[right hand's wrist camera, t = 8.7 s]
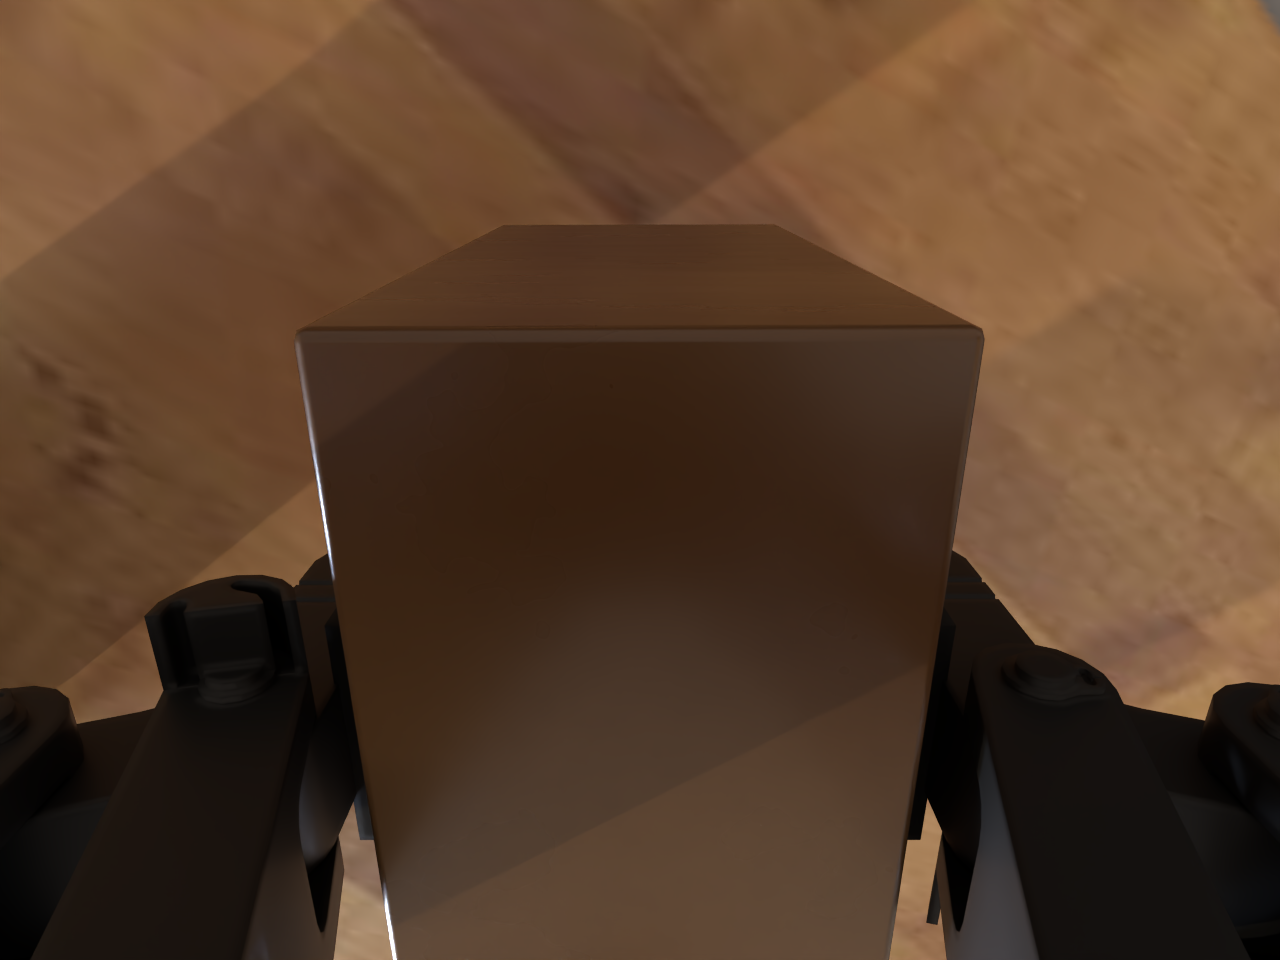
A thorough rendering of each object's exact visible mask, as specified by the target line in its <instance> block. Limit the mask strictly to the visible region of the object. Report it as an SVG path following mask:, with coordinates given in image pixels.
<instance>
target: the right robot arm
mask: <svg viewBox="0 0 1280 960" xmlns="http://www.w3.org/2000/svg"><path fill="white" fill-rule="evenodd" d="M144 617H145V621H146V625H147V629H148V633H149V636H150V640H151V644H152V648H153V652H154V656H155V659H156V663H157V667H158V671H159V675H160V679H161V682H162V686H163V690H164V691H163V693H162V695H161V697H160V699H159V701H158V703H157V705H156V707H155V708H154V709H150V710H146V711H142V712H137V713H132V714H127V715H122V716H117V717H111V718H106V719H101V720H96V721H90V722H85V723H80V724H76V720H75V717H74V714H73V711H72V708H71V705H70V701H69V698H67V697H66V696H65V695H63V694H62V693H61V692H59V691H58V690H57V689H52V688H45V687H38V686H29V687H19V688H9V689H8V688H4V689H0V960H333V959H334V951H335V943H336V934H337V926H338V917H339V909H340V901H341V892H342V884H343V876H344V865H343V859H342V852H341V847H340V841H339V836H338V835H339V833H340V831H341V828H342V826H343V824H344V822H345V819H346V817H347V815H348V812H349V810H350V808H351V806H352V803H353V801H354V806H355V812H356V818H357V824H358V830H359V836H360V840H374V837H373V831H372V824H371V818H370V812H369V806H368V800H367V793H366V787H365V781H364V775H363V768H362V762H361V756H360V750H359V744H358V737H357V731H356V725H355V719H354V712H353V706H352V700H351V694H350V688H349V681H348V675H347V669H346V663H345V656H344V650H343V644H342V638H341V632H340V625H339V619H338V613H337V607H336V600H335V594H334V588H333V582H332V576H331V569H330V563H329V557H328V554H326V555H325V556H323V557H321V558H320V559H318V560H316V561H315V562H314V563H313V565H312V566H311V567H310V568H309V570H308V571H307V572H306V573H305V575H304V576H303V577H302V578H301V580H300V581H299V585H296V586H295V587H292V586H291V585H290V584H288V583H287V582H285V581H284V580H283V579H279V578H274V577H269V576H265V575H236V576H230V577H225V578H220V579H214V580H209V581H205V582H203V583H200V584H197V585H194V586H191V587H188V588H185V589H182V590H180V591H178V592H176V593H175V594H173V595H171V596H169V597H167V598H166V599H164V600H162V601H160V602H158V603H157V604H156V605H155V606H154V607H153V608H152V609H151V610H150V611H149V612H148V613H147V614H146V615H145V616H144ZM927 798H928V800H929V803H930V805H931V807H932V809H933V812H934V814H935V816H936V818H937V821H938V823H939V825H940V827H941V830H942V836H941V841H940V847H939V852H938V858H937V864H936V869H935V875H934V880H933V886H932V891H931V897H930V903H929V909H928V915H927V922H926V923H930V924H936V925H937V924H938V919H939V914H940V909H941V915H942V924H943V932H944V940H945V949H946V957H947V960H1280V685H1270V684H1260V683H1250V682H1246V683H1239V684H1232V685H1226V686H1224V687H1223V688H1222V689H1220V690H1219V691H1218V692H1216V693H1215V694H1213V697H1212V700H1211V704H1210V707H1209V710H1208V713H1207V716H1206V719H1205V721H1204V720H1199V719H1194V718H1188V717H1183V716H1178V715H1173V714H1167V713H1162V712H1157V711H1152V710H1146V709H1141V708H1137V707H1133V706H1129V705H1125V704H1123V702H1122V700H1121V697H1120V695H1119V693H1118V691H1117V690H1116V688H1115V687H1114V686H1113V685H1112V683H1111V682H1110V681H1109V680H1108V679H1107V677H1106V676H1105V675H1104V674H1103V673H1101V672H1100V671H1098V670H1097V669H1095V668H1094V667H1092V666H1091V665H1089V664H1088V663H1086V662H1085V661H1083V660H1081V659H1079V658H1076V657H1074V656H1072V655H1069V654H1067V653H1064V652H1062V651H1059V650H1057V649H1052V648H1047V647H1043V646H1038V645H1035V644H1034V643H1033V641H1032V640H1031V639H1030V638H1029V636H1028V635H1027V634H1026V633H1025V632H1024V630H1023V629H1022V628H1021V627H1020V625H1019V624H1018V623H1017V622H1016V620H1015V619H1014V618H1013V617H1012V615H1011V614H1010V613H1009V612H1008V610H1007V609H1006V608H1005V607H1004V605H1003V604H1002V603H1001V602H1000V600H999V599H995V594H994V593H993V592H992V590H991V589H990V588H989V587H988V585H987V584H986V583H985V582H982V578H981V577H980V576H979V574H978V573H977V572H976V571H975V569H974V568H973V567H972V566H971V564H970V563H969V562H968V561H967V559H966V558H964V557H963V556H961V555H959V554H958V553H956V552H954V551H953V550H952V554H951V560H950V567H949V573H948V580H947V586H946V593H945V599H944V606H943V612H942V619H941V625H940V632H939V638H938V645H937V651H936V658H935V664H934V671H933V677H932V683H931V690H930V696H929V703H928V709H927V716H926V722H925V729H924V735H923V742H922V748H921V755H920V761H919V768H918V774H917V781H916V787H915V794H914V800H913V807H912V813H911V819H910V826H909V832H908V839H907V840H920V839H921V833H922V827H923V821H924V815H925V809H926V804H927Z"/></svg>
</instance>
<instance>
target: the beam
mask: <svg viewBox="0 0 1280 960" xmlns="http://www.w3.org/2000/svg"><path fill="white" fill-rule="evenodd" d="M294 345H295V352H296V358H297V364H298V370H299V376H300V383H301V389H302V395H303V401H304V408H305V414H306V420H307V426H308V432H309V439H310V445H311V451H312V457H313V464H314V470H315V476H316V482H317V488H318V495H319V501H320V507H321V513H322V520H323V526H324V532H325V538H326V544H327V551H328V557H329V563H330V569H331V576H332V582H333V588H334V594H335V600H336V607H337V613H338V619H339V625H340V632H341V638H342V644H343V650H344V656H345V663H346V669H347V675H348V681H349V688H350V694H351V700H352V706H353V712H354V719H355V725H356V731H357V737H358V744H359V750H360V756H361V762H362V768H363V775H364V781H365V787H366V793H367V800H368V806H369V812H370V818H371V824H372V831H373V837H374V843H375V849H376V856H377V862H378V868H379V874H380V880H381V887H382V893H383V899H384V905H385V912H386V918H387V924H388V930H389V936H390V943H391V949H392V955H393V960H889V956H890V949H891V943H892V936H893V930H894V923H895V917H896V910H897V904H898V897H899V891H900V884H901V878H902V871H903V865H904V858H905V852H906V845H907V839H908V832H909V826H910V819H911V813H912V807H913V800H914V794H915V787H916V781H917V774H918V768H919V761H920V755H921V748H922V742H923V735H924V729H925V722H926V716H927V709H928V703H929V696H930V690H931V683H932V677H933V671H934V664H935V658H936V651H937V645H938V638H939V632H940V625H941V619H942V612H943V606H944V599H945V593H946V586H947V580H948V573H949V567H950V560H951V554H952V547H953V541H954V534H955V528H956V522H957V515H958V509H959V502H960V496H961V489H962V483H963V476H964V470H965V463H966V457H967V450H968V444H969V437H970V431H971V424H972V418H973V411H974V405H975V398H976V392H977V386H978V379H979V373H980V366H981V360H982V353H983V347H984V335H983V331H982V329H981V328H979V327H977V326H975V325H973V324H972V323H970V322H968V321H966V320H964V319H962V318H960V317H958V316H956V315H954V314H952V313H950V312H948V311H946V310H944V309H942V308H940V307H938V306H936V305H934V304H932V303H930V302H928V301H926V300H924V299H922V298H920V297H918V296H916V295H914V294H912V293H910V292H908V291H906V290H904V289H902V288H900V287H898V286H896V285H894V284H892V283H890V282H888V281H886V280H884V279H882V278H880V277H878V276H876V275H874V274H872V273H870V272H868V271H866V270H864V269H862V268H860V267H858V266H856V265H854V264H852V263H850V262H848V261H846V260H844V259H842V258H840V257H838V256H836V255H834V254H832V253H830V252H828V251H826V250H824V249H822V248H820V247H818V246H816V245H814V244H813V243H811V242H809V241H807V240H805V239H803V238H801V237H799V236H797V235H795V234H793V233H791V232H789V231H787V230H785V229H783V228H781V227H779V226H777V225H774V224H741V225H503V226H501V227H499V228H497V229H495V230H493V231H491V232H489V233H487V234H485V235H483V236H481V237H479V238H477V239H475V240H474V241H472V242H470V243H468V244H466V245H464V246H462V247H460V248H458V249H456V250H454V251H452V252H450V253H448V254H446V255H444V256H442V257H440V258H438V259H436V260H434V261H432V262H430V263H428V264H426V265H424V266H423V267H421V268H419V269H417V270H415V271H413V272H411V273H409V274H407V275H405V276H403V277H401V278H399V279H397V280H395V281H393V282H391V283H389V284H387V285H385V286H383V287H381V288H379V289H377V290H375V291H374V292H372V293H370V294H368V295H366V296H364V297H362V298H360V299H358V300H356V301H354V302H352V303H350V304H348V305H346V306H344V307H342V308H340V309H338V310H336V311H334V312H332V313H330V314H328V315H326V316H325V317H323V318H321V319H319V320H317V321H315V322H313V323H311V324H309V325H307V326H305V327H303V328H301V329H299V330H297V331H296V334H295V339H294Z"/></svg>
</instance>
